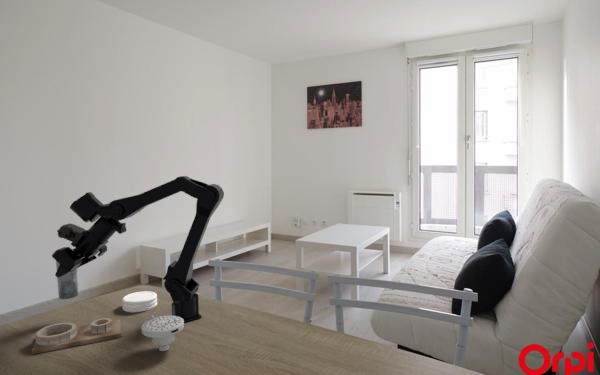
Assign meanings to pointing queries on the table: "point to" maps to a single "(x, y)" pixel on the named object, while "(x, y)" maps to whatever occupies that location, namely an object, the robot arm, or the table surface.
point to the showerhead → (162, 329)
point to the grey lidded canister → (67, 284)
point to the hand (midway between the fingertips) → (62, 273)
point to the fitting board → (82, 338)
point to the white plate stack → (139, 301)
